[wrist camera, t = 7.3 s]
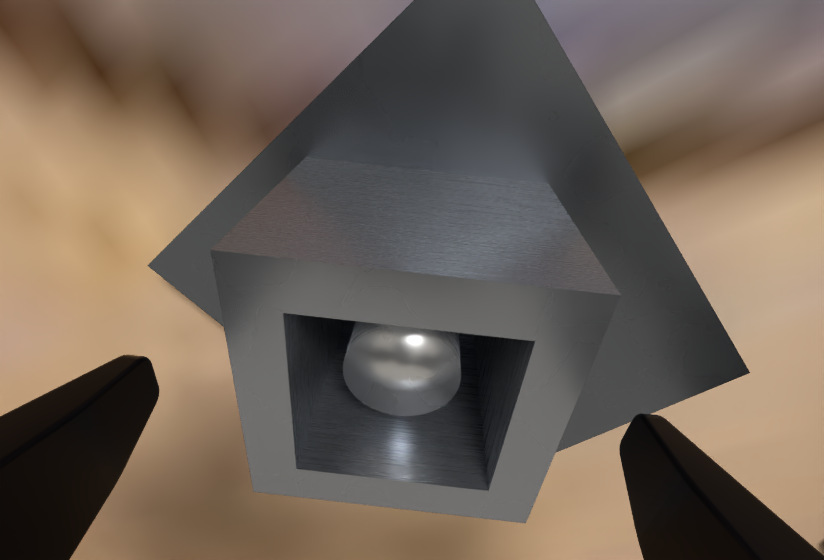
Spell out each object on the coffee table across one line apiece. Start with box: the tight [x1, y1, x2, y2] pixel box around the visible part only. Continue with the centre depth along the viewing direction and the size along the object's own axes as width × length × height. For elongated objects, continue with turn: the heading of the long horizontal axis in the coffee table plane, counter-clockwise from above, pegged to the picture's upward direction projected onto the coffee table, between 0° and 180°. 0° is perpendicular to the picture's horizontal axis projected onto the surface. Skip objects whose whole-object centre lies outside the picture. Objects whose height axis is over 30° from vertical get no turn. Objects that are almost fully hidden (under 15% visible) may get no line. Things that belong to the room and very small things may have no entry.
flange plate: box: [148, 0, 750, 453], centre depth 11 cm, size 14×12×5 cm
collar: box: [210, 157, 621, 523], centre depth 10 cm, size 6×6×5 cm
